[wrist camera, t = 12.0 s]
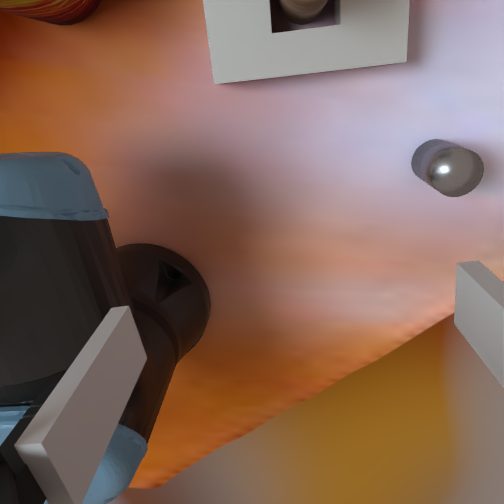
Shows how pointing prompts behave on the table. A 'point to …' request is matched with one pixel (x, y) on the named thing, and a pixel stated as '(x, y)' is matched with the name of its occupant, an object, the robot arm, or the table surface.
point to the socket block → (303, 39)
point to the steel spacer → (447, 167)
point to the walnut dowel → (301, 10)
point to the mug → (51, 10)
